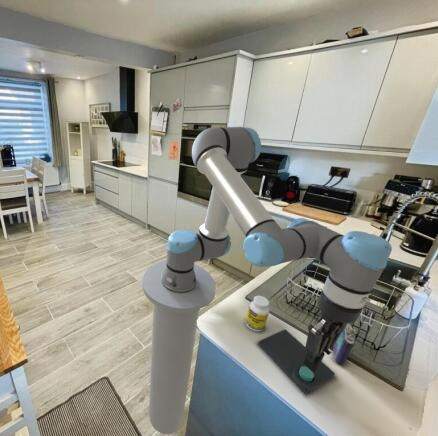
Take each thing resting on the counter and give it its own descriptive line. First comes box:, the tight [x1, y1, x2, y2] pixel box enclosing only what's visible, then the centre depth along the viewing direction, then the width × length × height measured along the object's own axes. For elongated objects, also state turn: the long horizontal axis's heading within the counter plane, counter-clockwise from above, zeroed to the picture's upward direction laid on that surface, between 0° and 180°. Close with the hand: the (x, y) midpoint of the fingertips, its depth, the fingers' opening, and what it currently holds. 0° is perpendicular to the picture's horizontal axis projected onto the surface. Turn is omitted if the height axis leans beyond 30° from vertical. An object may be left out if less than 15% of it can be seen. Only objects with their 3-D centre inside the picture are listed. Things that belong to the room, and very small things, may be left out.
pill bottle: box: [244, 295, 270, 332], centre depth 81 cm, size 6×6×11 cm
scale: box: [257, 329, 336, 395], centre depth 71 cm, size 16×13×3 cm
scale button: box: [299, 366, 314, 382], centre depth 65 cm, size 3×3×2 cm
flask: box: [332, 323, 357, 366], centre depth 72 cm, size 9×3×11 cm, turn 148°
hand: (310, 366), depth 63 cm, fingers closed
